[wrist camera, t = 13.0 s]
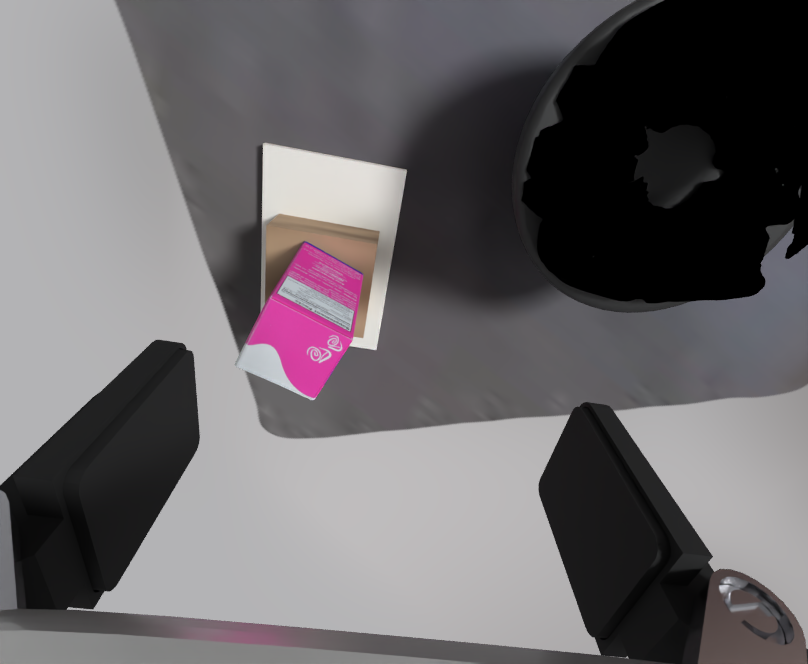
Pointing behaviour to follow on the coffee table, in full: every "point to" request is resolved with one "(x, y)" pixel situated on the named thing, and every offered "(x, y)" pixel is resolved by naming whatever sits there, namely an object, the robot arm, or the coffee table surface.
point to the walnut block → (331, 238)
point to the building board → (336, 208)
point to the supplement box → (305, 323)
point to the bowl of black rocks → (669, 154)
